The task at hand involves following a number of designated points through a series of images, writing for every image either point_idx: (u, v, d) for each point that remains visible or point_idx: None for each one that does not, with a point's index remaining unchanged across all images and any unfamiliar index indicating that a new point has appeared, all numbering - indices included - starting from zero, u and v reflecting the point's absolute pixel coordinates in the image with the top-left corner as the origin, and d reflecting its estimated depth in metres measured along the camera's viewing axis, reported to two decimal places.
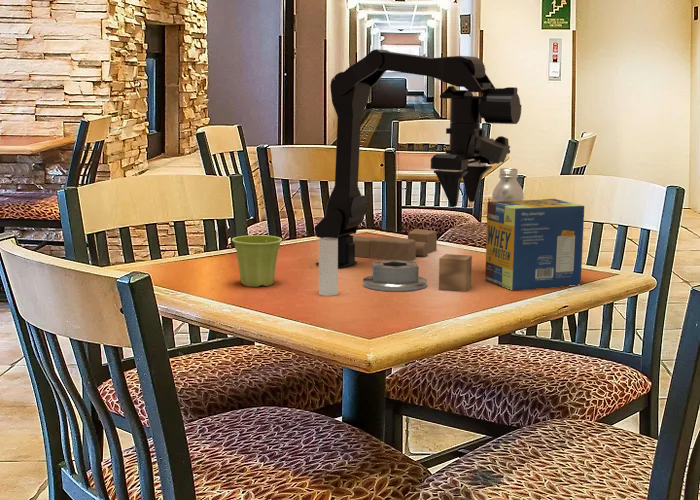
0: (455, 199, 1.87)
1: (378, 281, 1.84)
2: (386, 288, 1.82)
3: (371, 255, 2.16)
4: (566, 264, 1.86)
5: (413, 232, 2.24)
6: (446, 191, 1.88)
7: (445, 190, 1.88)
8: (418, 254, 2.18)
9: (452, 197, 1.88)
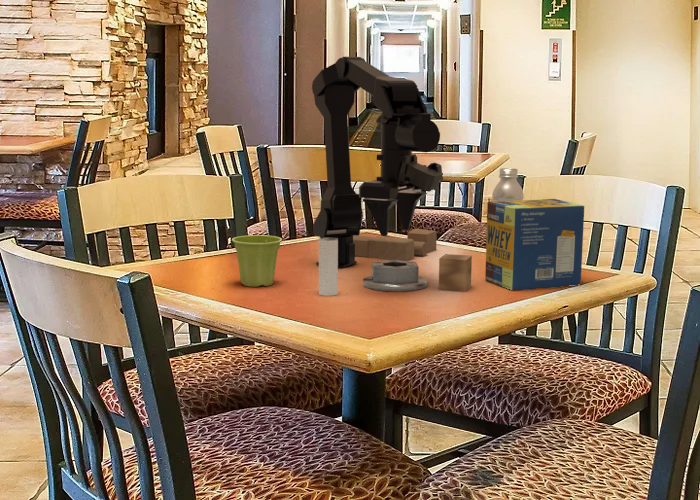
0: (385, 228, 1.81)
1: (378, 281, 1.84)
2: (386, 288, 1.82)
3: (370, 254, 2.17)
4: (566, 264, 1.86)
5: (413, 232, 2.24)
6: (376, 220, 1.81)
7: (375, 219, 1.81)
8: (417, 254, 2.19)
9: (382, 226, 1.81)
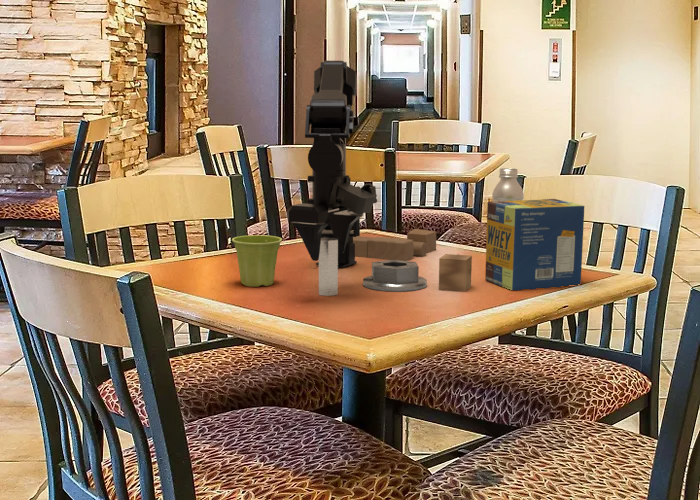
0: (316, 253, 1.74)
1: (378, 281, 1.84)
2: (386, 288, 1.82)
3: (369, 255, 2.17)
4: (566, 264, 1.86)
5: (412, 232, 2.24)
6: (306, 244, 1.74)
7: (305, 243, 1.74)
8: (416, 254, 2.19)
9: (313, 251, 1.74)
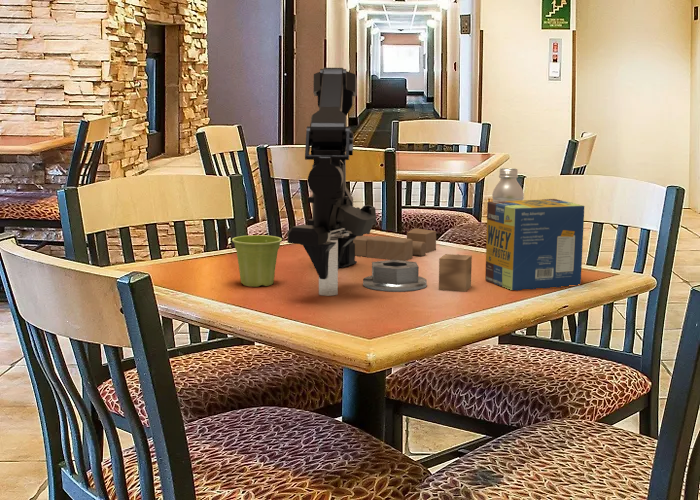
0: (324, 271, 1.77)
1: (378, 281, 1.84)
2: (386, 288, 1.82)
3: (368, 254, 2.17)
4: (566, 264, 1.86)
5: (412, 231, 2.24)
6: (314, 263, 1.77)
7: (313, 262, 1.77)
8: (416, 253, 2.19)
9: (320, 269, 1.77)
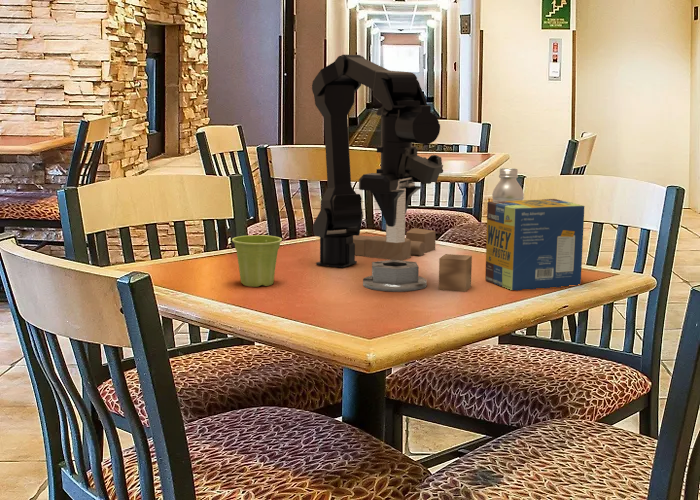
0: (392, 219, 1.83)
1: (378, 281, 1.84)
2: (386, 288, 1.82)
3: (366, 254, 2.18)
4: (566, 264, 1.86)
5: (411, 231, 2.25)
6: (383, 210, 1.83)
7: (382, 209, 1.83)
8: (414, 253, 2.19)
9: (389, 217, 1.83)
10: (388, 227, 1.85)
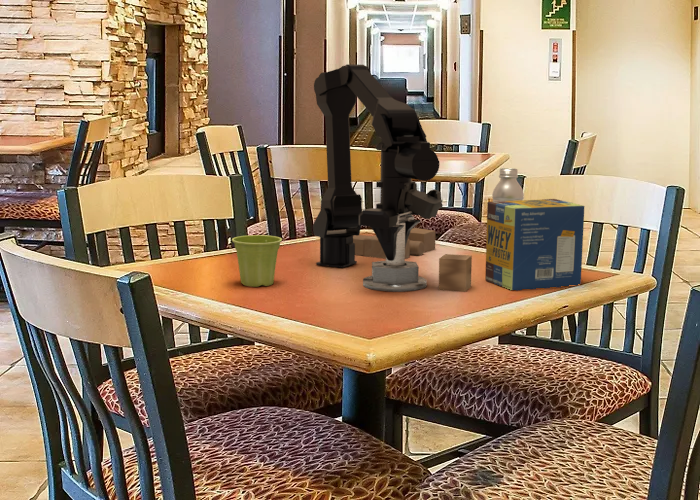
0: (392, 253, 1.84)
1: (378, 281, 1.84)
2: (386, 288, 1.82)
3: (365, 253, 2.18)
4: (566, 264, 1.86)
5: (411, 231, 2.25)
6: (382, 245, 1.84)
7: (381, 244, 1.84)
8: (413, 253, 2.20)
9: (389, 251, 1.84)
10: (388, 261, 1.86)
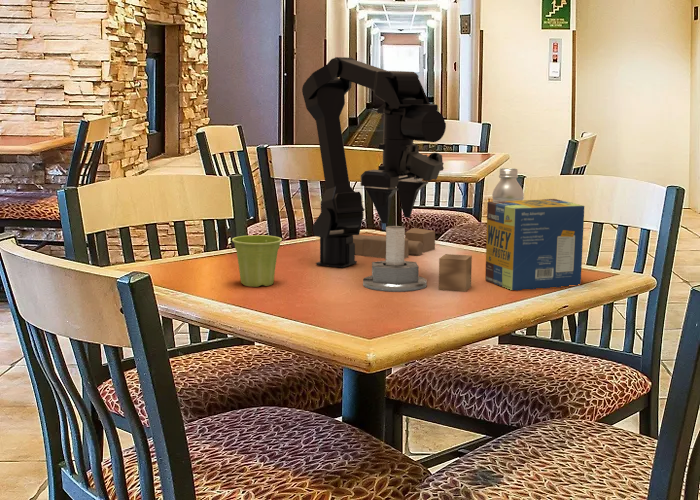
0: (386, 216, 1.86)
1: (378, 281, 1.84)
2: (386, 288, 1.82)
3: (364, 253, 2.19)
4: (566, 264, 1.86)
5: (410, 231, 2.25)
6: (377, 208, 1.86)
7: (376, 207, 1.86)
8: (412, 253, 2.20)
9: (383, 214, 1.86)
10: None
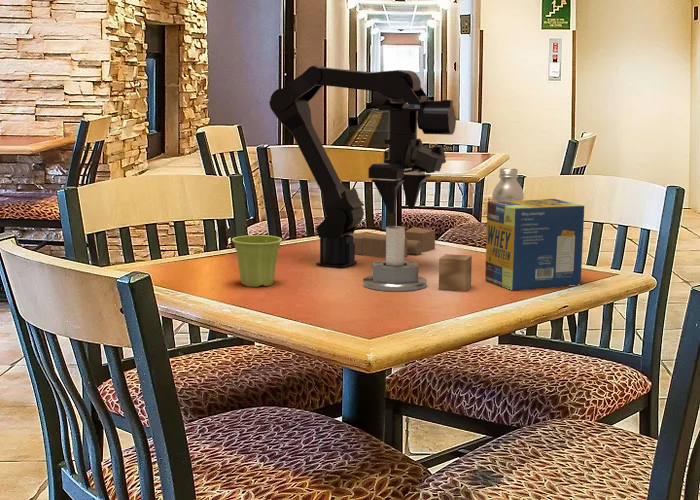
0: (392, 206, 1.96)
1: (378, 281, 1.84)
2: (386, 288, 1.82)
3: (363, 252, 2.20)
4: (566, 264, 1.86)
5: (410, 230, 2.26)
6: (384, 199, 1.97)
7: (383, 198, 1.97)
8: (411, 252, 2.21)
9: (390, 205, 1.97)
10: None
